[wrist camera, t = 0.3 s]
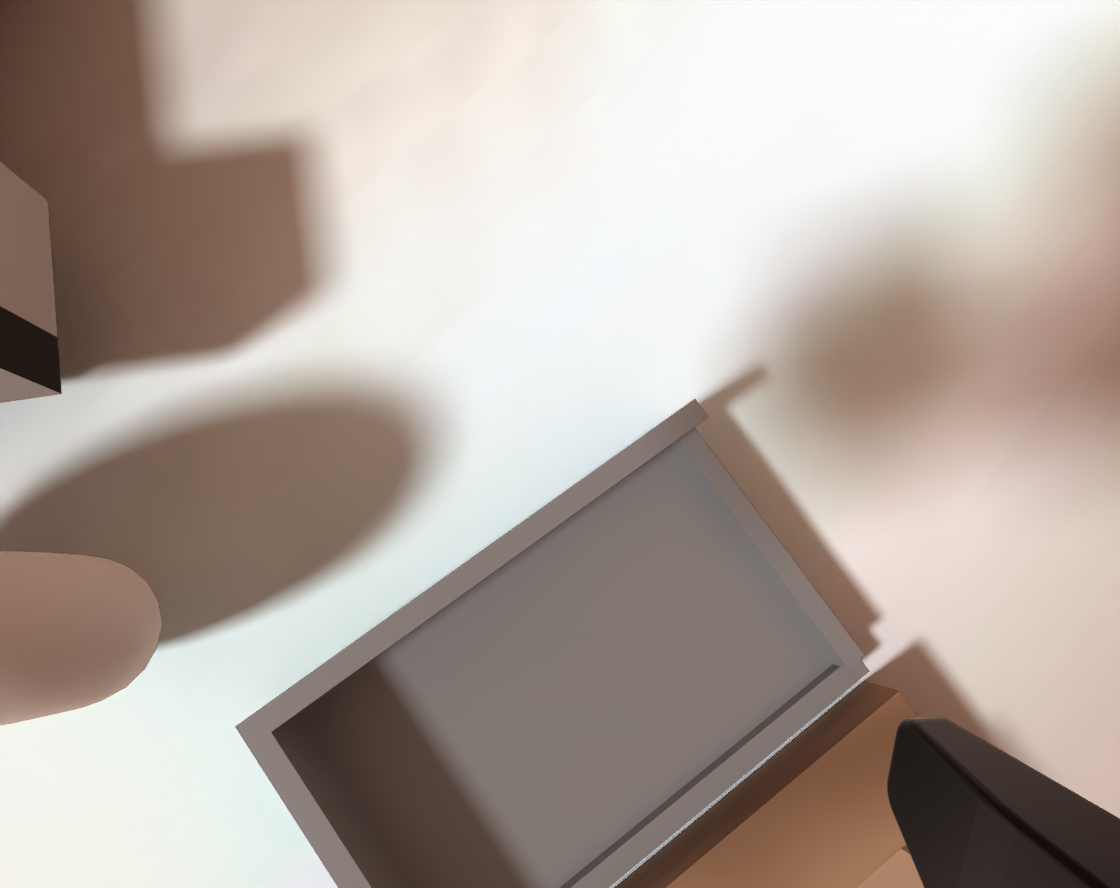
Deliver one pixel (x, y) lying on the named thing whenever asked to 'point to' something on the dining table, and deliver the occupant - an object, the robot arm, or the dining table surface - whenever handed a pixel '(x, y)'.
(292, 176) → the dining table surface
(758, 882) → the walnut board
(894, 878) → the tile
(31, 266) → the game console
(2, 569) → the donut
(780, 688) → the box
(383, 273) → the dining table surface
